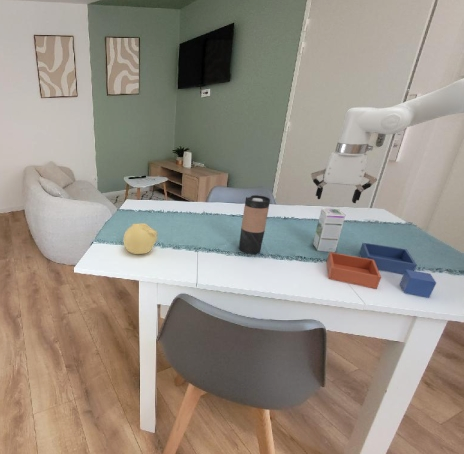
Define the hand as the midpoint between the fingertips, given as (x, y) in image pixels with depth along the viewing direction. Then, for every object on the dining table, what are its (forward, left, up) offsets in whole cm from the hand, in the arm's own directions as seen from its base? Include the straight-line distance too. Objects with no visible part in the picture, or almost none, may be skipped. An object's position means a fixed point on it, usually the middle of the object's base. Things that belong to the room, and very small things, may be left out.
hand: (335, 200), depth 99 cm
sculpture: (+59, +32, -19) cm, 69 cm away
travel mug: (+23, +13, -19) cm, 32 cm away
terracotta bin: (-6, +17, -19) cm, 26 cm away
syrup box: (0, 0, -19) cm, 19 cm away
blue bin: (-16, +4, -19) cm, 25 cm away
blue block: (-20, +19, -19) cm, 33 cm away
